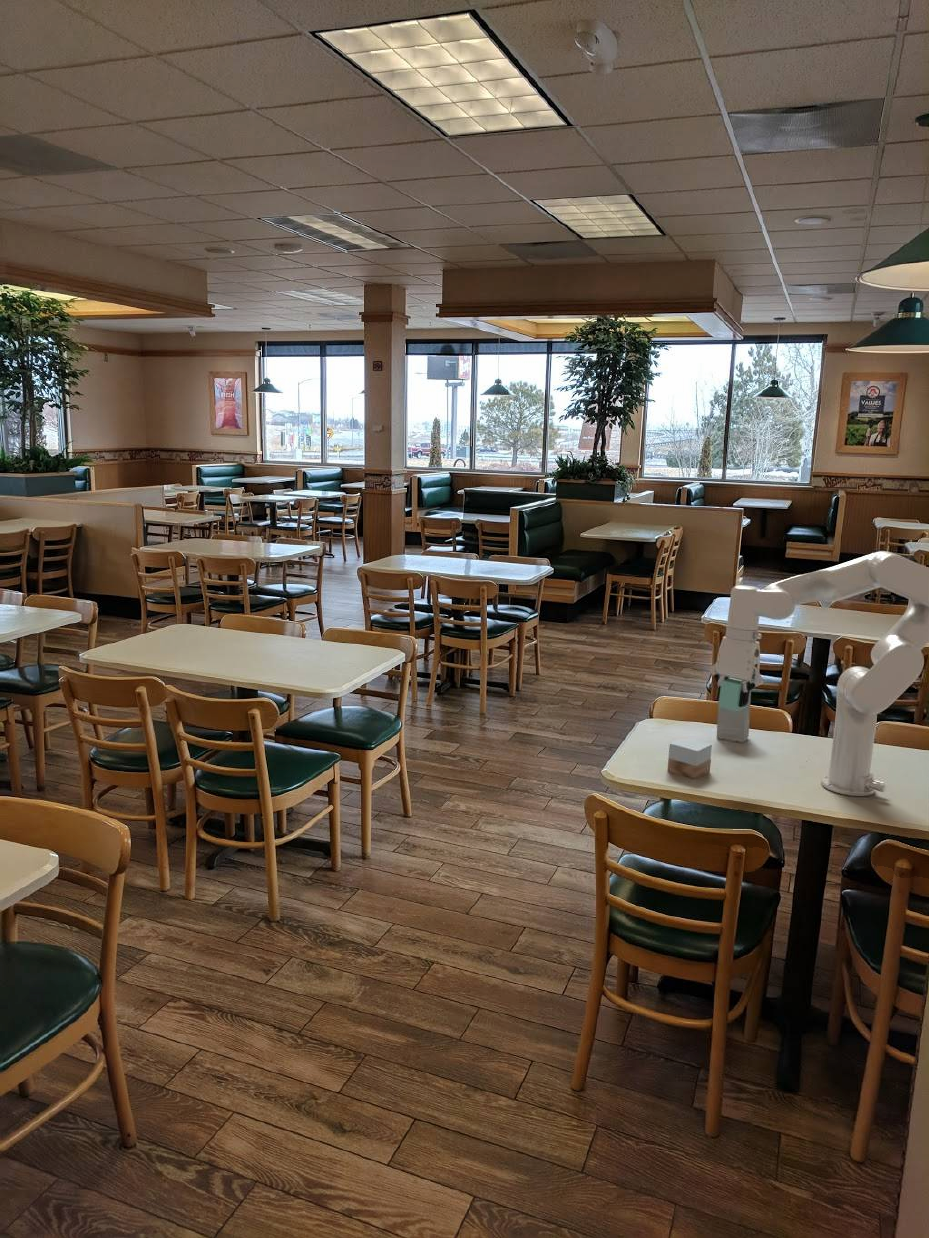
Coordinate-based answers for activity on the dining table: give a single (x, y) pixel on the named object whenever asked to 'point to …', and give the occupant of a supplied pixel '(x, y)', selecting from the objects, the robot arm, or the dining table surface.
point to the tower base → (689, 768)
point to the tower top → (690, 751)
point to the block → (730, 694)
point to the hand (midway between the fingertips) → (732, 702)
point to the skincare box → (733, 723)
